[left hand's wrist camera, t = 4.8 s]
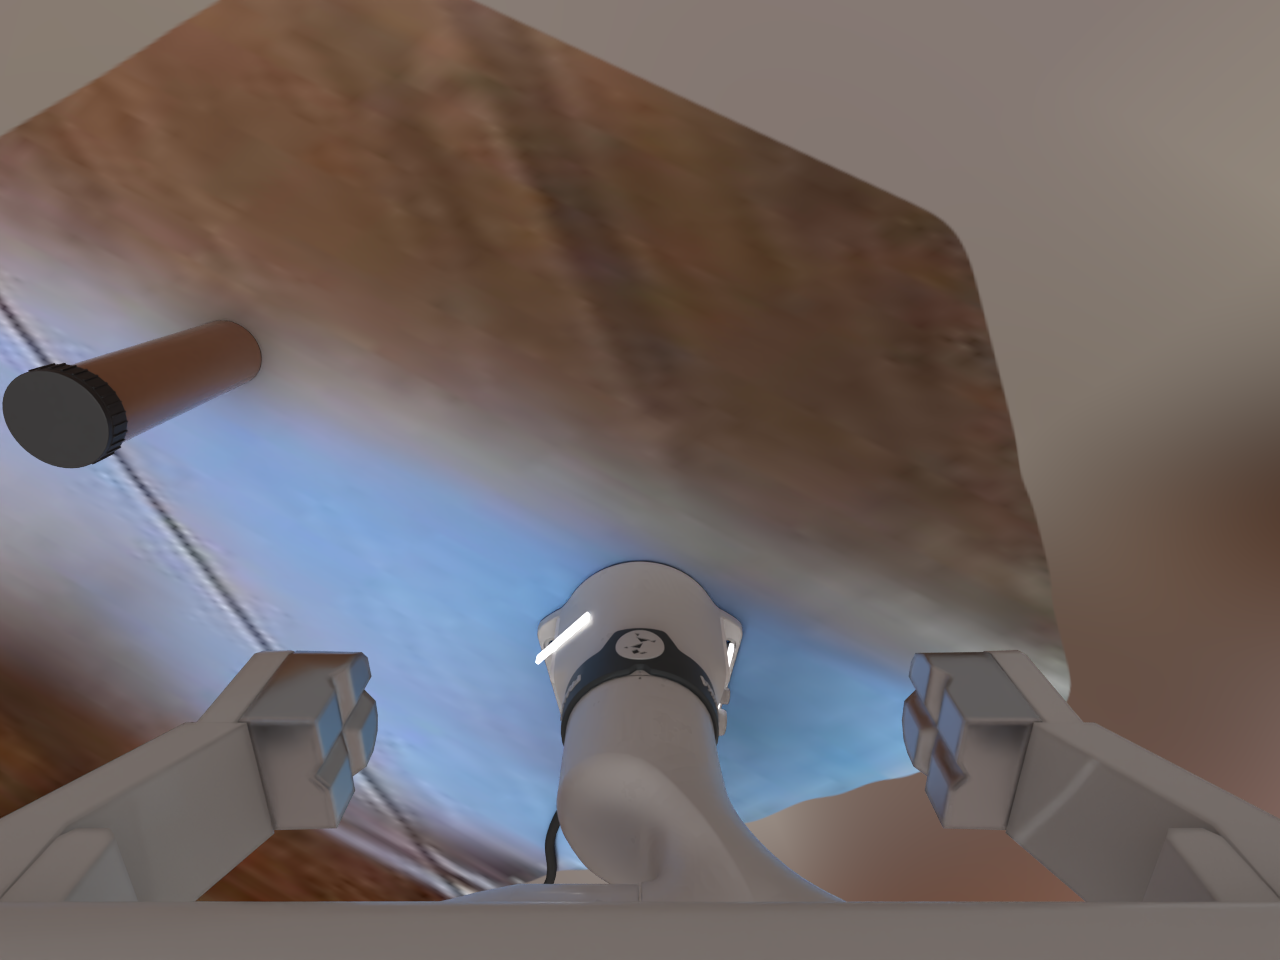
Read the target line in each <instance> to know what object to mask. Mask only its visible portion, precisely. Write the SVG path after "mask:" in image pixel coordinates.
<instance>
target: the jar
mask: <svg viewBox="0 0 1280 960" xmlns="http://www.w3.org/2000/svg"><path fill="white" fill-rule="evenodd" d="M72 365H77V367H80V368H83V369H88V371H90V372H92V373H94V374H95V375H99V376H98V377H100V378H101V379H102V380H104V381H105V382H107V383H108V385H109V386H110V387H111V388H112V389H113V390H114V391H116V394H117V396H118V397H119V399H120V400H121V401H122V404H123V407H124V409H125V411H126V417H127V421H128V423H127V430H128V432H127V433H126V436H125V438H124V439H126V440H125V441H127V440H129V439H131V438H133V437H135V436H137V435H139V434H141V433H144V432H146V431H148V430H150V429H152V428H154V427H156V426H158V425H160V424H162V423H164V422H166V421H168V420H170V419H172V418H174V417H177V416H179V415H181V414H183V413H185V412H187V411H189V410H191V409H193V408H195V407H197V406H199V405H201V404H203V403H205V402H207V401H210V400H212V399H214V398H216V397H218V396H220V395H222V394H224V393H226V392H228V391H230V390H232V389H234V388H236V387H238V386H240V385H242V384H245V383H247V382H248V381H250V380H252V379H253V378H254V377H255V376H256V375H257V373H258V371H259V369H260V366H261V352H260V349H259V346H258V344H257V342H256V340H255V339H254V337H253V336H252V335H251V334H250V333H249V332H248V331H247V330H246V329H244V328H243V327H241V326H240V325H238V324H236V323H233V322H230V321H222V320H220V321H214V322H210V323H207V324H203V325H200V326H197V327H194V328H190V329H187V330H184V331H180V332H177V333H174V334H171V335H167V336H164V337H161V338H157V339H154V340H151V341H148V342H144V343H141V344H138V345H134V346H131V347H128V348H125V349H121V350H118V351H115V352H111V353H108V354H105V355H102V356H98V357H95V358H92V359H88V360H85V361H82V362H79V363H75V364H72ZM125 441H123V442H125ZM123 442H122V443H123Z"/></svg>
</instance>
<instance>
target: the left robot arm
mask: <svg viewBox="0 0 1280 960" xmlns="http://www.w3.org/2000/svg"><path fill="white" fill-rule="evenodd" d="M538 639H539V643H540V646H541V649H542V652H541V653H540V654H538V655H537V659H536V663H537V664H539V663H540V662H542V661H543V660H544V659H545V663H546V666H547V670H548V673H549V676H550V681H551V683H552V686H553V690H554V693H555V697H556V700H557V703H558V707H559V710H560V714H561V721H562V722H561V737H562V743H563V746H564V749H563V757H562V764H561V771H560V779H559V786H558V794H557V811H556V813H555V815H554V817H553V819H552V821H551V823H550V826H549V829H548V832H547V835H546V840H545V854H546V861H547V876H546V880H545V882H544V884H516V885H511V886H506V887H501V888H496V889H491V890H486V891H481V892H477V893H473V894H469V895H465V896H461V897H457V898H453V899H449V900H445V901H441V902H195V901H196V900H197V899H198V898H199V897H200V896H202V895H203V894H204V893H205V892H206V891H207V890H209V889H210V888H211V887H212V886H213V885H214V884H216V883H217V882H218V881H219V880H220V879H221V878H223V877H224V876H225V875H226V874H227V873H228V872H230V871H231V870H232V869H233V868H234V867H235V866H237V865H238V864H239V863H240V862H241V861H242V860H244V859H245V858H246V857H247V856H248V855H249V854H251V853H252V852H253V851H254V850H255V849H256V848H258V847H259V846H260V845H261V844H262V843H263V842H265V841H266V840H267V839H268V838H269V837H270V836H272V835H273V834H274V830H290V829H324V828H337V827H338V825H339V822H340V820H341V818H342V816H343V814H344V812H345V810H346V808H347V806H348V804H349V802H350V800H351V798H352V796H353V794H354V791H355V787H354V782H353V776H354V775H355V774H356V773H358V772H359V771H361V770H362V769H363V768H365V767H366V766H367V764H368V762H369V760H370V757H371V755H372V753H373V750H374V746H375V741H376V736H377V731H378V714H377V707H376V701H375V700H374V699H373V698H372V697H371V696H370V695H369V694H368V693H367V692H366V691H365V690H364V689H365V687H366V685H367V683H368V682H369V680H370V678H371V672H370V667H369V662H368V658H367V657H366V656H365V655H364V654H363V653H362V652H328V651H295V652H294V651H261V652H258V653H256V654H254V655H253V656H252V657H251V658H250V660H249V661H248V662H247V663H246V664H245V666H244V667H243V668H242V669H241V670H240V671H239V673H238V674H237V675H236V676H235V677H234V679H233V680H232V681H231V682H230V683H229V685H228V686H227V687H226V688H225V689H224V690H223V692H222V693H221V694H220V695H219V696H218V698H217V699H216V700H215V701H214V702H213V703H212V705H211V706H210V707H209V708H208V709H207V711H206V712H205V713H204V714H203V715H202V717H201V718H200V719H199V720H198V721H197V722H196V723H184V724H182V725H180V726H178V727H176V728H174V729H172V730H170V731H168V732H166V733H164V734H163V735H161V736H159V737H157V738H155V739H153V740H151V741H149V742H147V743H145V744H143V745H141V746H139V747H137V748H136V749H134V750H132V751H130V752H128V753H126V754H124V755H122V756H120V757H118V758H116V759H114V760H112V761H110V762H109V763H107V764H105V765H103V766H101V767H99V768H97V769H95V770H93V771H91V772H89V773H87V774H85V775H83V776H82V777H80V778H78V779H76V780H74V781H72V782H70V783H68V784H66V785H64V786H62V787H60V788H58V789H56V790H55V791H53V792H51V793H49V794H47V795H45V796H43V797H41V798H39V799H37V800H35V801H33V802H31V803H29V804H28V805H26V806H24V807H22V808H20V809H18V810H16V811H14V812H12V813H10V814H8V815H6V816H4V817H2V818H1V819H0V960H1280V819H1279V818H1277V817H1275V816H1273V815H1271V814H1269V813H1267V812H1265V811H1264V810H1262V809H1260V808H1258V807H1256V806H1254V805H1252V804H1250V803H1248V802H1246V801H1244V800H1242V799H1240V798H1239V797H1237V796H1235V795H1233V794H1231V793H1229V792H1227V791H1225V790H1223V789H1221V788H1219V787H1217V786H1215V785H1214V784H1212V783H1210V782H1208V781H1206V780H1204V779H1202V778H1200V777H1198V776H1196V775H1194V774H1192V773H1190V772H1188V771H1187V770H1185V769H1183V768H1181V767H1179V766H1177V765H1175V764H1173V763H1171V762H1169V761H1167V760H1165V759H1164V758H1162V757H1160V756H1158V755H1156V754H1154V753H1152V752H1150V751H1148V750H1146V749H1144V748H1142V747H1141V746H1139V745H1137V744H1135V743H1133V742H1131V741H1129V740H1127V739H1125V738H1123V737H1121V736H1119V735H1117V734H1115V733H1114V732H1112V731H1110V730H1108V729H1106V728H1104V727H1102V726H1100V725H1098V724H1096V723H1084V722H1083V721H1082V720H1081V719H1080V718H1079V717H1078V715H1077V714H1076V713H1075V712H1074V711H1073V709H1072V708H1071V707H1070V706H1069V705H1068V704H1067V702H1066V701H1065V700H1064V699H1063V698H1062V696H1061V695H1060V694H1059V693H1058V692H1057V691H1056V689H1055V688H1054V687H1053V686H1052V685H1051V683H1050V682H1049V681H1048V680H1047V679H1046V678H1045V676H1044V675H1043V674H1042V673H1041V672H1040V670H1039V669H1038V668H1037V667H1036V666H1035V664H1034V663H1033V662H1032V661H1031V660H1030V659H1029V657H1028V656H1027V655H1026V654H1024V653H1022V652H1020V651H1018V650H1010V651H984V652H958V653H915V655H914V657H913V659H912V661H911V666H910V671H909V678H910V680H911V682H912V683H913V685H914V687H915V689H916V690H915V691H914V692H913V693H912V694H911V695H910V696H909V697H908V698H907V699H906V700H905V701H904V708H903V716H902V726H903V739H904V742H905V746H906V750H907V753H908V755H909V757H910V760H911V762H912V764H913V766H914V767H915V768H917V769H918V770H919V771H921V772H922V773H924V774H925V775H926V776H927V782H926V787H925V791H926V794H927V796H928V798H929V800H930V802H931V804H932V806H933V808H934V810H935V812H936V814H937V816H938V818H939V820H940V822H941V824H942V826H943V828H954V829H991V830H1006V833H1007V834H1008V835H1009V836H1010V837H1011V838H1012V839H1013V840H1015V841H1016V842H1017V843H1018V844H1019V845H1020V846H1022V847H1023V848H1024V849H1025V850H1026V851H1027V852H1029V853H1030V854H1031V855H1032V856H1033V857H1034V858H1035V859H1037V860H1038V861H1039V862H1040V863H1041V864H1043V865H1044V866H1045V867H1046V868H1047V869H1048V870H1049V871H1051V872H1052V873H1053V874H1054V875H1055V876H1056V877H1058V878H1059V879H1060V880H1061V881H1062V882H1063V883H1065V884H1066V885H1067V886H1068V887H1069V888H1070V889H1072V890H1073V891H1074V892H1075V893H1076V894H1078V895H1079V896H1080V897H1081V898H1082V899H1083V900H1084V901H1086V902H846V901H844V900H842V899H840V898H838V897H836V896H834V895H832V894H830V893H828V892H826V891H824V890H822V889H820V888H819V887H817V886H816V885H814V884H812V883H811V882H809V881H807V880H806V879H804V878H802V877H801V876H800V875H798V874H797V873H795V872H794V871H793V870H791V869H790V868H789V867H787V866H786V865H785V864H784V863H782V862H781V861H780V860H779V859H778V858H777V857H775V856H774V855H773V854H772V853H771V852H770V851H769V850H768V849H767V848H766V847H765V846H764V845H763V844H762V843H761V842H760V841H759V840H758V839H757V838H756V837H755V836H754V835H753V833H752V832H751V831H750V830H749V829H748V828H747V826H746V825H745V824H744V823H743V821H742V820H741V819H740V817H739V816H738V814H737V813H736V811H735V809H734V808H733V806H732V804H731V802H730V800H729V797H728V795H727V791H726V788H725V784H724V780H723V777H722V773H721V768H720V764H719V759H718V753H717V748H716V746H717V743H718V737H719V736H722V735H724V734H725V731H726V725H727V713H726V710H724V709H721V707H722V704H728V703H729V699H730V689H729V688H727V687H728V683H729V681H730V676H731V673H732V670H733V666H734V663H735V660H736V656H737V653H738V649H739V646H740V643H741V639H742V625H741V623H740V622H739V621H738V620H737V619H736V618H735V617H733V616H732V615H730V614H728V613H727V612H725V611H723V610H721V609H719V608H718V607H717V606H716V605H715V604H714V603H713V601H712V600H711V599H710V597H709V596H708V594H707V593H706V592H705V590H704V589H703V588H702V587H701V586H700V585H699V584H698V583H697V582H696V581H695V580H693V579H692V578H691V577H689V576H688V575H686V574H685V573H683V572H681V571H679V570H677V569H675V568H672V567H669V566H666V565H663V564H658V563H653V562H627V563H622V564H617V565H614V566H611V567H608V568H605V569H603V570H601V571H599V572H597V573H595V574H594V575H592V576H591V577H589V578H588V579H587V580H585V581H584V582H583V583H582V584H581V585H580V586H579V587H578V588H577V589H576V590H575V592H574V593H573V594H572V596H571V597H570V599H569V600H568V601H567V603H566V604H565V605H564V606H563V607H562V608H561V609H559V610H557V611H555V612H553V613H552V614H550V615H548V616H547V617H545V618H544V619H543V620H542V621H541V622H540V623H539V625H538ZM551 640H554V641H553V642H552V643H551V642H550V641H551ZM726 640H729V641H730V642H729V643H727V644H726ZM559 826H561V829H562V832H563V834H564V836H565V838H566V840H567V841H568V843H569V844H570V846H571V848H572V849H573V851H574V852H575V853H576V855H577V856H578V858H579V859H580V860H581V861H582V863H583V864H584V865H585V866H586V867H587V868H588V869H589V870H590V871H591V872H593V873H594V874H595V875H596V876H598V877H599V878H601V879H603V880H604V881H606V882H607V883H609V884H554V880H555V877H556V858H555V848H554V844H555V837H556V833H557V830H558V828H559Z"/></svg>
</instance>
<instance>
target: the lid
mask: <svg viewBox="0 0 1280 960" xmlns="http://www.w3.org/2000/svg"><path fill="white" fill-rule="evenodd" d="M28 371H29V372H26V373H24V374H21V375H20V376H18V377H16V378H15V379H14V380H13V381H12V382H11V383H10V384H9V386H8V387H7V389H6V391H5V394H4V397H3V414H4V418H5V422H6V424H7V426H8V429H9V430H10V432H11V434H12V435H13V437H14V438H15V439H16V441H17V442H18V443H19V444H20V445H21V446H22V447H23V448H24V449H25V450H26V451H27V452H29V453H30V454H31V455H33V456H34V457H36V458H38V459H39V460H41V461H43V462H45V463H48V464H51V465H54V466H57V467H63V468H80V467H84V466H87V465H90V464H95V463H97V462H99V461H101V460H103V459H105V458H107V457H108V456H111V455H113V454H114V451H116V450H117V449H119V448H121V446H120V445H121V444H122V442H123V441H125V440H126V439H124V438H125V436H126V433H127V432H128V430H127V423H128V421H127V417H126V411H125V409H124V407H123V404H122V401H121V400H120V399H119V397H118V396H117V394H116V391H114V390H113V389H112V388H111V387H110V386H109V385H108V383H107V382H105V381H104V380H102V379H101V378H100V377H98V376H99V375H95V374H94V373H92V372H90V371H88V369H83V368H80V367H77V365H67V364H66V363H62V364H57V365H55V363H53V364H49V365H46V366H42V367H38V368H35V369H31V370H28Z"/></svg>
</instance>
